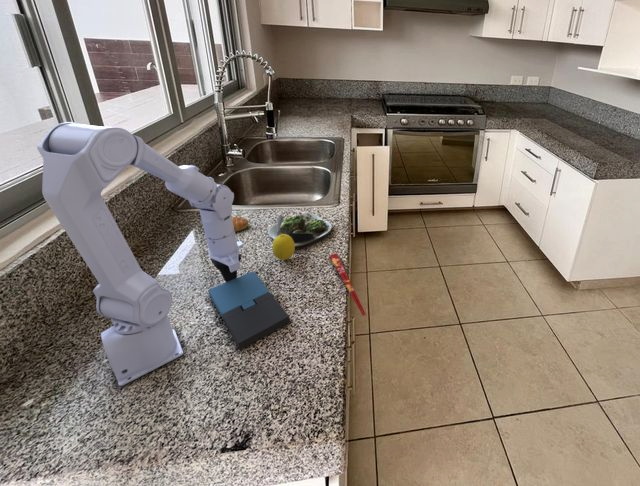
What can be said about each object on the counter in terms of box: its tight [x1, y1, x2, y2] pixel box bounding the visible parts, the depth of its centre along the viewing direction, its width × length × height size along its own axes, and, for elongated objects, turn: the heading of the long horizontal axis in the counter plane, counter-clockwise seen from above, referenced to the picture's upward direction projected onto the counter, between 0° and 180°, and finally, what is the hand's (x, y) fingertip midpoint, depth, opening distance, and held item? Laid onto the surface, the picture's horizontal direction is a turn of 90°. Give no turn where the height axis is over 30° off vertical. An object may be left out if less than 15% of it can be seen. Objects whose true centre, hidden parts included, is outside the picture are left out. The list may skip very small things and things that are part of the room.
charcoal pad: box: [221, 292, 291, 351], centre depth 72 cm, size 10×10×2 cm
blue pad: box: [208, 270, 271, 319], centre depth 78 cm, size 10×12×2 cm
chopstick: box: [329, 253, 367, 317], centre depth 84 cm, size 2×24×1 cm, turn 30°
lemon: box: [271, 234, 296, 261], centre depth 91 cm, size 6×6×8 cm
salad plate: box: [267, 212, 333, 250], centre depth 104 cm, size 19×18×5 cm
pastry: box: [231, 215, 249, 233], centre depth 105 cm, size 9×7×4 cm
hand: (231, 280), depth 83 cm, fingers closed
